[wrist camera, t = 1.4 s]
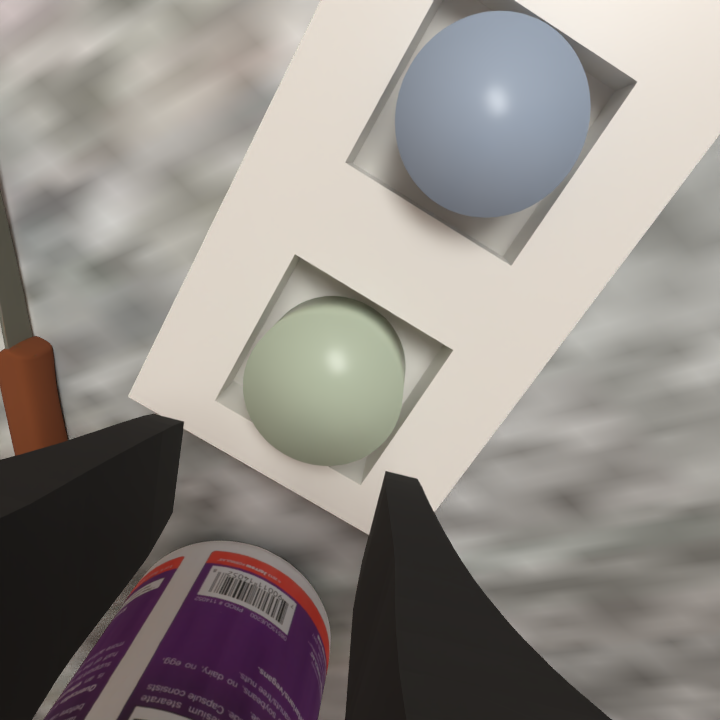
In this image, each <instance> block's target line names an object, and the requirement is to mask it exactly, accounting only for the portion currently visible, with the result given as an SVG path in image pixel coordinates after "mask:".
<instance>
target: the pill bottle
mask: <svg viewBox="0 0 720 720" xmlns="http://www.w3.org/2000/svg"><path fill="white" fill-rule="evenodd" d="M330 649H331V632H330V625H329V620H328V617H327V614H326V611H325V609H324V606H323V604H322V602H321V600H320V598H319V596H318V594H317V593H316V591H315V590H314V588H313V587H312V585H311V584H310V583H309V581H308V580H307V579H306V578H305V577H304V576H303V575H302V574H301V573H300V572H299V571H298V570H297V569H296V568H294V567H293V566H292V565H291V564H290V563H288V562H287V561H285V560H284V559H282V558H281V557H279V556H277V555H275V554H273V553H271V552H270V551H268V550H266V549H263V548H260V547H257V546H254V545H250V544H246V543H240V542H233V541H206V542H200V543H195V544H192V545H188V546H185V547H183V548H180V549H177V550H175V551H173V552H171V553H169V554H168V555H166V556H165V557H163V558H162V559H160V560H159V561H158V562H157V563H155V564H154V565H153V566H152V567H151V568H150V569H149V570H148V571H147V572H146V573H145V574H144V576H143V577H142V578H141V580H140V581H139V582H138V584H137V585H136V586H135V588H134V589H133V590H132V592H131V593H130V595H129V596H128V598H127V599H126V601H125V602H124V604H123V605H122V607H121V608H120V610H119V611H118V613H117V614H116V615H115V617H114V618H113V620H112V621H111V623H110V624H109V626H108V627H107V628H106V630H105V631H104V633H103V635H102V636H101V637H100V639H99V640H98V642H97V643H96V645H95V646H94V647H93V649H92V650H91V652H90V653H89V655H88V656H87V658H86V659H85V660H84V662H83V663H82V665H81V666H80V668H79V669H78V671H77V672H76V674H75V675H74V677H73V678H72V679H71V681H70V682H69V684H68V685H67V687H66V688H65V690H64V691H63V693H62V694H61V695H60V697H59V698H58V700H57V701H56V703H55V704H54V705H53V707H52V708H51V710H50V711H49V713H48V714H47V715H46V717H45V718H44V720H318V715H319V709H320V704H321V699H322V694H323V689H324V684H325V679H326V674H327V669H328V662H329V656H330Z"/></svg>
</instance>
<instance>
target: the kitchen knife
mask: <svg viewBox="0 0 720 720" xmlns="http://www.w3.org/2000/svg"><path fill="white" fill-rule="evenodd" d="M0 322H1V328H2V334H3V339H4V344H5V349H4V350H2V351H1V352H0V388H1V393H2V397H3V402H4V407H5V411H6V416H7V420H8V425H9V430H10V434H11V439H12V443H13V448H14V452H15V456H17V455H20V454H24V453H27V452H31V451H34V450H37V449H41V448H44V447H48V446H51V445H55V444H58V443H62V442H65V441H68V439H67V434H66V430H65V426H64V421H63V417H62V412H61V407H60V402H59V397H58V391H57V385H56V377H55V367H54V355H53V349H52V346H51V344H50V343H49V342H47V341H46V340H44V339H42V338H40V337H37V336H34V337H33V336H32V331H31V326H30V322H29V317H28V312H27V307H26V302H25V297H24V293H23V288H22V283H21V279H20V274H19V270H18V265H17V260H16V256H15V251H14V247H13V243H12V238H11V234H10V230H9V225H8V221H7V217H6V212H5V208H4V204H3V199H2V195H1V191H0Z"/></svg>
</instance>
